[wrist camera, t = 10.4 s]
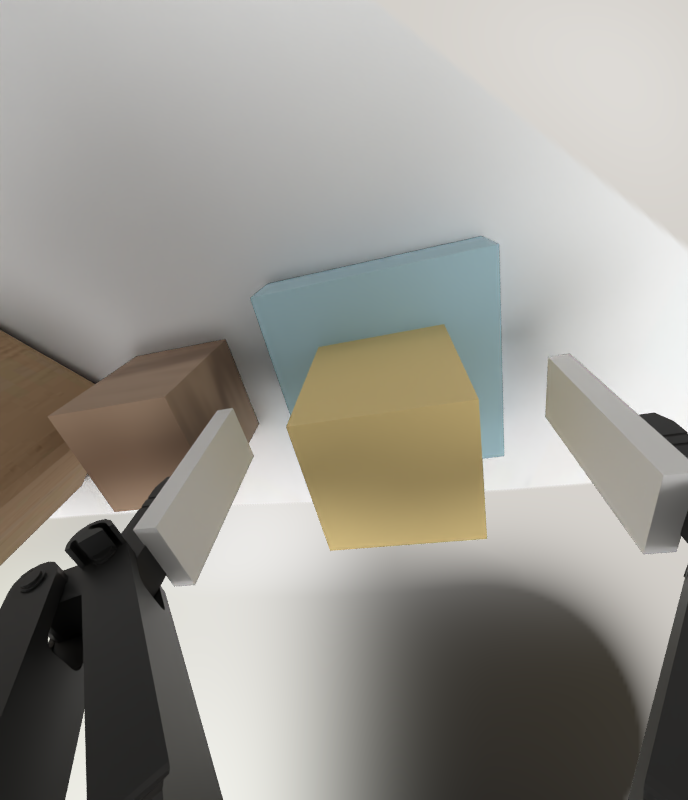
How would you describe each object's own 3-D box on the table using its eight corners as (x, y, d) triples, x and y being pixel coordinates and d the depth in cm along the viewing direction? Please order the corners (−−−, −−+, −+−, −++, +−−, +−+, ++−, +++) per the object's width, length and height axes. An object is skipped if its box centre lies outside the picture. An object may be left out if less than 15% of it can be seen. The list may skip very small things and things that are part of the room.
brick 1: (136, 356, 23) (47, 416, 17) (225, 338, 22) (164, 396, 16) (178, 435, 26) (114, 511, 19) (259, 423, 24) (218, 501, 18)
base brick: (267, 283, 20) (250, 298, 17) (482, 235, 18) (499, 244, 15) (319, 448, 25) (312, 478, 22) (490, 425, 23) (504, 455, 20)
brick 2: (318, 347, 18) (286, 426, 12) (444, 323, 17) (478, 399, 11) (345, 445, 21) (330, 550, 15) (454, 431, 20) (487, 538, 14)
